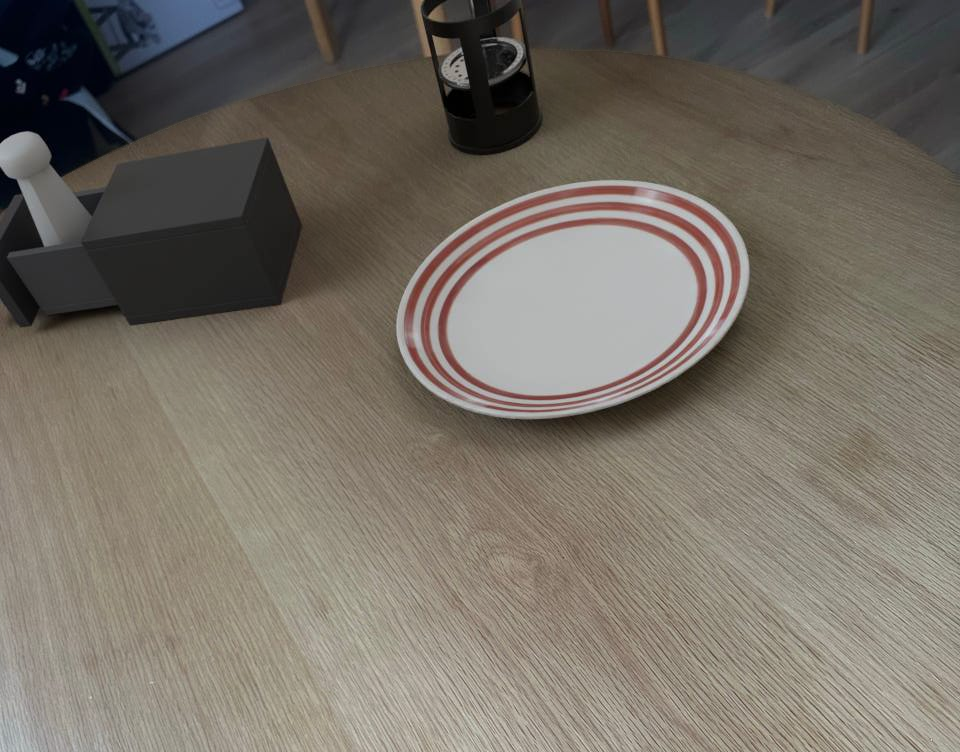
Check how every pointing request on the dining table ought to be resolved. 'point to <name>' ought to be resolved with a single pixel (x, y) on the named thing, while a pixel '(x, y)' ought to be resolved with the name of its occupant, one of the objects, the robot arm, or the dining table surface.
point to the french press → (485, 79)
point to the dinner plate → (573, 299)
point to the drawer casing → (195, 233)
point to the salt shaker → (43, 189)
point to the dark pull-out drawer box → (46, 267)
